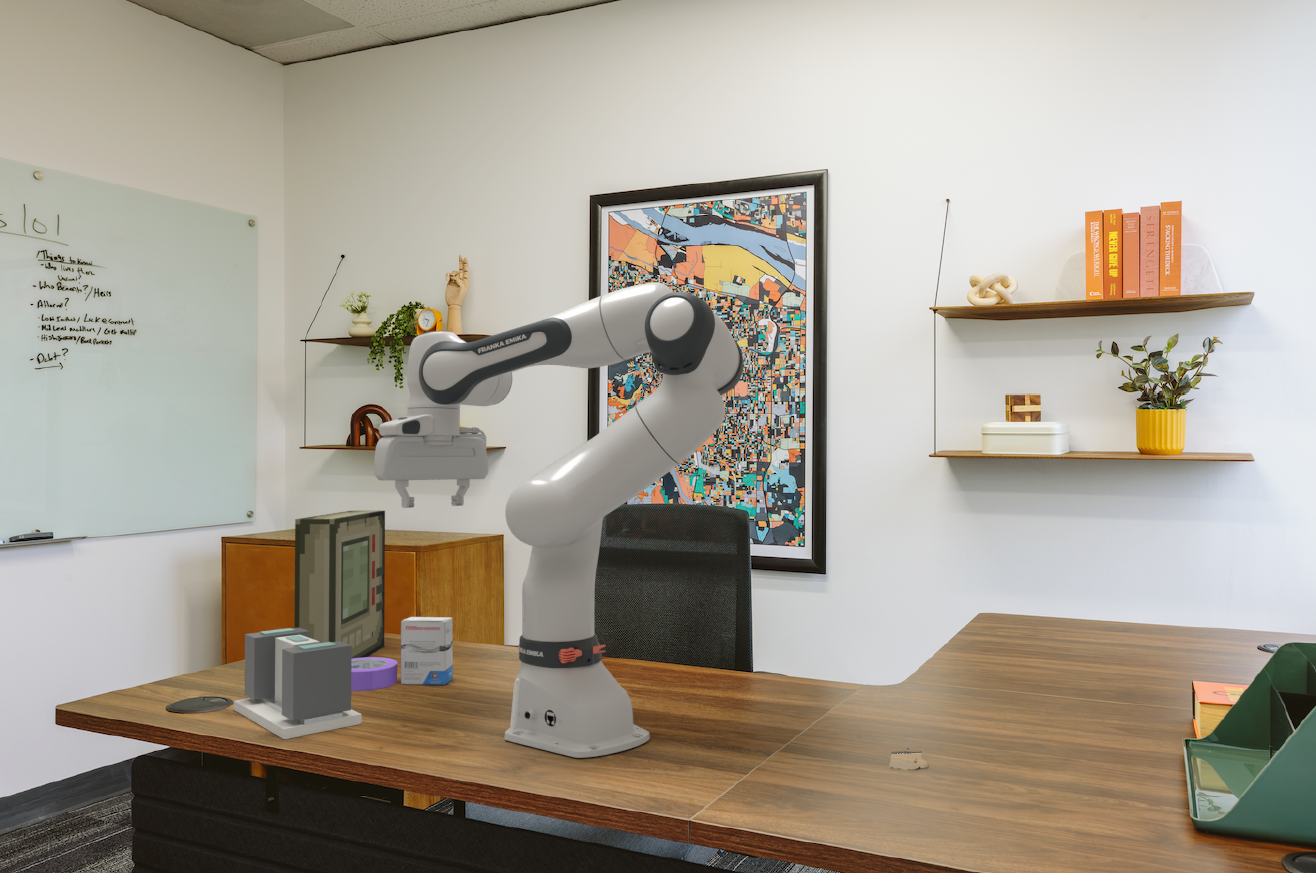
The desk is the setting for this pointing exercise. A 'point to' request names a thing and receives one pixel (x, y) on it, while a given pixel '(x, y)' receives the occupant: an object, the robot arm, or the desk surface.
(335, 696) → the mounted modules
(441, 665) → the ink box
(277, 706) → the rail
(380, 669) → the masking tape
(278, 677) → the block
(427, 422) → the robot arm
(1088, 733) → the desk surface
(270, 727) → the mounting board
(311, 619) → the control panel
